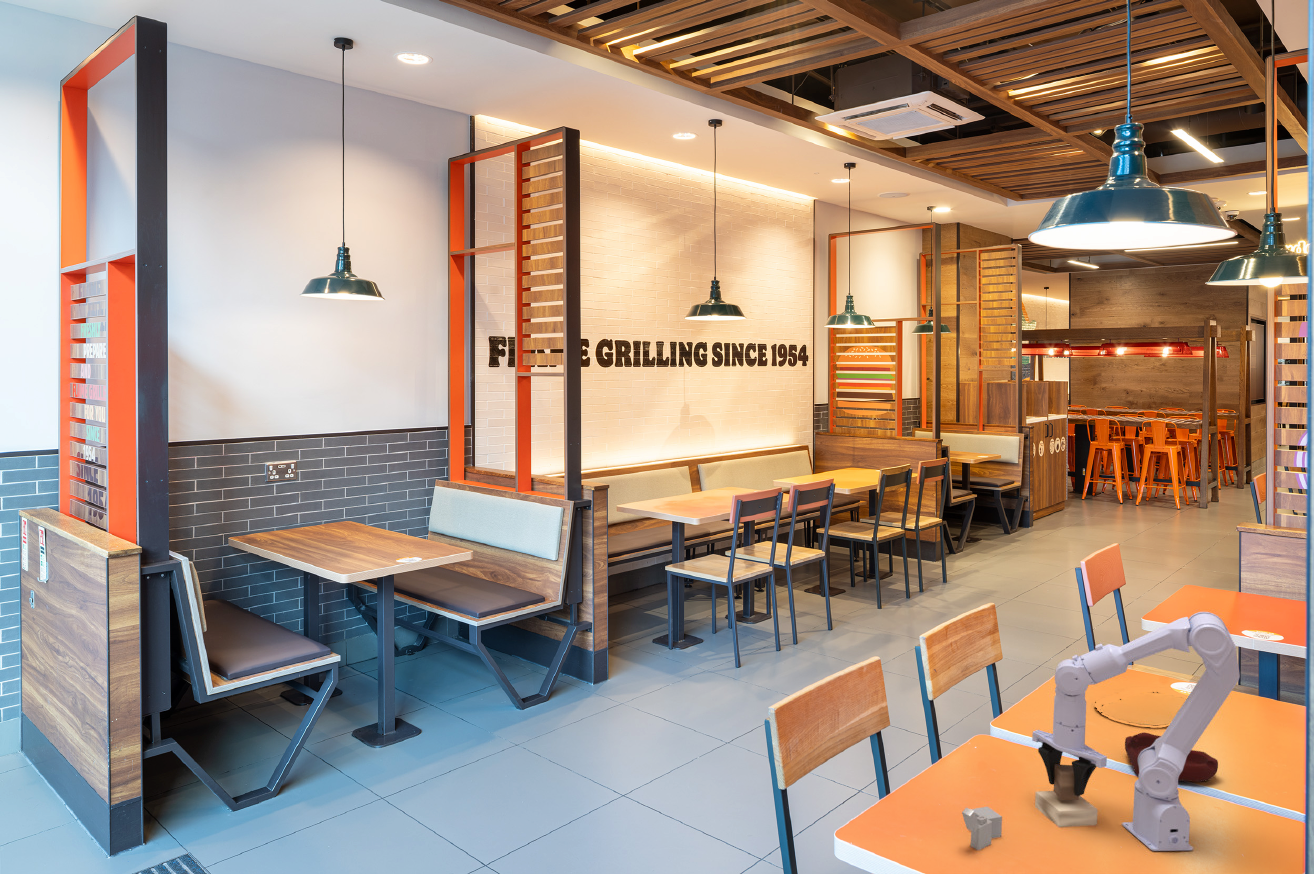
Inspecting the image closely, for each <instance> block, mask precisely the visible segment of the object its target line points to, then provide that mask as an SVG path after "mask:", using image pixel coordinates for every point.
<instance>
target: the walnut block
mask: <svg viewBox="0 0 1314 874" xmlns="http://www.w3.org/2000/svg"><path fill="white" fill-rule="evenodd" d="M1074 781H1075V780H1074V771H1073V767H1072V764H1060V765H1058V764H1055V769H1054V784H1053V791H1054V792H1055V793H1056V795H1057V796H1058V797H1059V798H1060V799H1062V800H1079V796H1076V795H1075V793H1074Z"/></svg>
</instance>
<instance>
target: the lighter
mask: <svg viewBox="0 0 1314 874" xmlns="http://www.w3.org/2000/svg"><path fill="white" fill-rule="evenodd" d="M971 809H972V808H968V807H967V806H966V807H965V808H964V810H963V811H962V812H961V814H962V817H963V820H964V824H965V827H966V829H967V830H968V831H970V847H971V848H973V849H974V850H976V851H980V850H982V849H984V848H986V847H988V846H990V845H992V839H991V834H992V821H990V820H988V819H987V818H986V816H979V817H977V818H976V816H975V813H974V811H973V810H971Z"/></svg>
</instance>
